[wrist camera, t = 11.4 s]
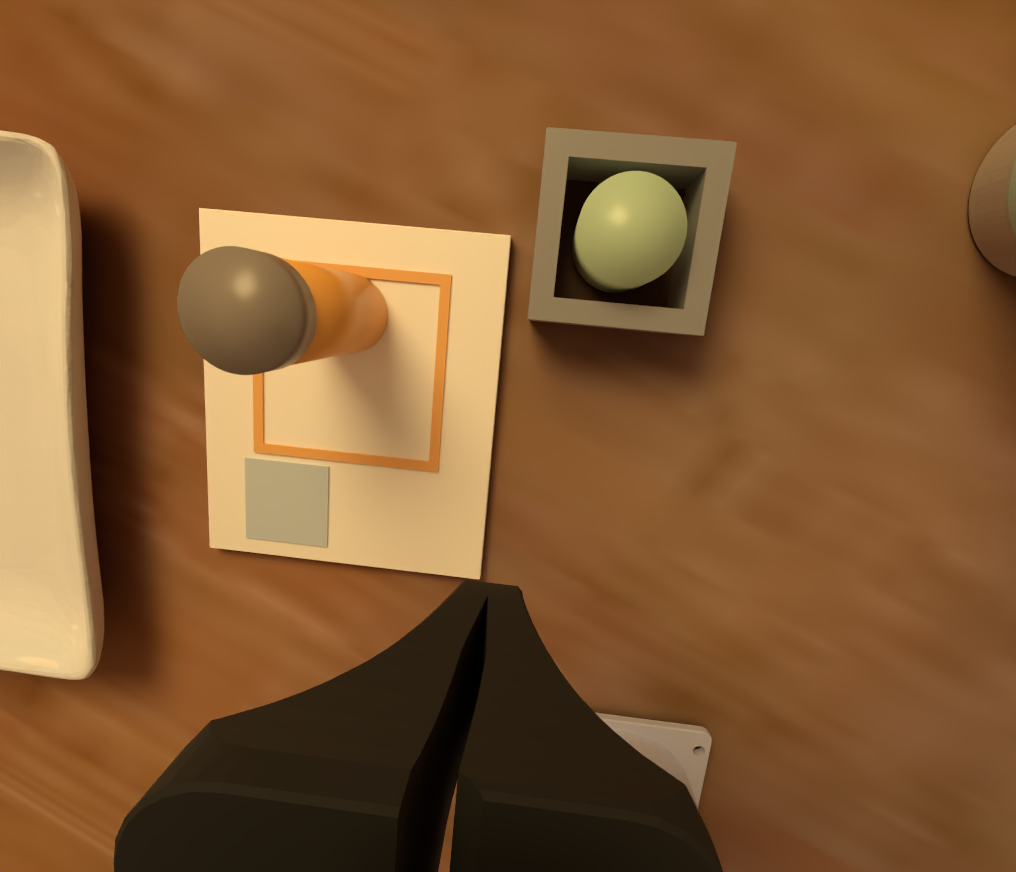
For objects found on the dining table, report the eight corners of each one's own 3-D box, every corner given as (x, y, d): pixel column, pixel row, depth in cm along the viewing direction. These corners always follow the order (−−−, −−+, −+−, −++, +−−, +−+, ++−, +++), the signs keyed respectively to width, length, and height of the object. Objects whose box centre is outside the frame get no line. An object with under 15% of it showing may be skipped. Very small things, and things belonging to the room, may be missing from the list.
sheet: (480, 574, 22) (479, 580, 21) (216, 542, 23) (208, 548, 22) (511, 237, 19) (510, 235, 19) (207, 211, 20) (197, 207, 19)
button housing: (683, 335, 19) (703, 335, 17) (529, 320, 20) (527, 318, 17) (710, 167, 18) (737, 141, 16) (546, 154, 18) (547, 126, 16)
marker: (387, 356, 20) (300, 380, 13) (311, 349, 20) (182, 369, 13) (390, 274, 19) (297, 250, 12) (310, 268, 19) (172, 240, 12)
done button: (656, 297, 19) (677, 290, 16) (566, 288, 19) (571, 280, 16) (670, 200, 18) (696, 175, 15) (577, 192, 18) (584, 166, 15)
